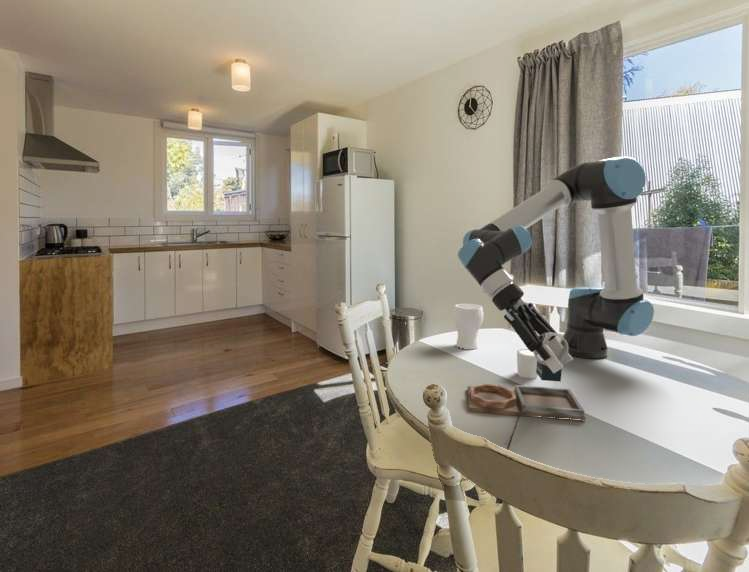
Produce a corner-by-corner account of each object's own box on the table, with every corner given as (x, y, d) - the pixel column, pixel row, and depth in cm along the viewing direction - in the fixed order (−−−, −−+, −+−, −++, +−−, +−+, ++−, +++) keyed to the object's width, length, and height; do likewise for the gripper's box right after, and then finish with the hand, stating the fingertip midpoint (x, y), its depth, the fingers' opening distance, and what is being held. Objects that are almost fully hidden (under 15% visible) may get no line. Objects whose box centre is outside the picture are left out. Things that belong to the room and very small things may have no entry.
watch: (527, 371, 105) (531, 329, 103) (561, 374, 104) (565, 331, 102) (533, 379, 99) (537, 335, 98) (568, 382, 98) (572, 337, 96)
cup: (485, 351, 146) (487, 309, 143) (454, 350, 146) (456, 309, 143) (478, 342, 156) (480, 303, 154) (450, 342, 156) (451, 303, 154)
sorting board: (569, 398, 108) (570, 388, 107) (584, 421, 95) (585, 411, 95) (467, 389, 112) (467, 381, 112) (469, 411, 100) (469, 401, 99)
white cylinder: (537, 381, 119) (538, 357, 118) (512, 376, 122) (514, 353, 121) (541, 373, 125) (543, 351, 124) (518, 369, 128) (519, 347, 127)
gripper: (507, 294, 116) (563, 363, 108) (474, 304, 101) (537, 385, 93) (528, 277, 111) (588, 348, 104) (496, 285, 97) (563, 369, 89)
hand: (563, 366), depth 98 cm, fingers closed on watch, 7 cm apart
